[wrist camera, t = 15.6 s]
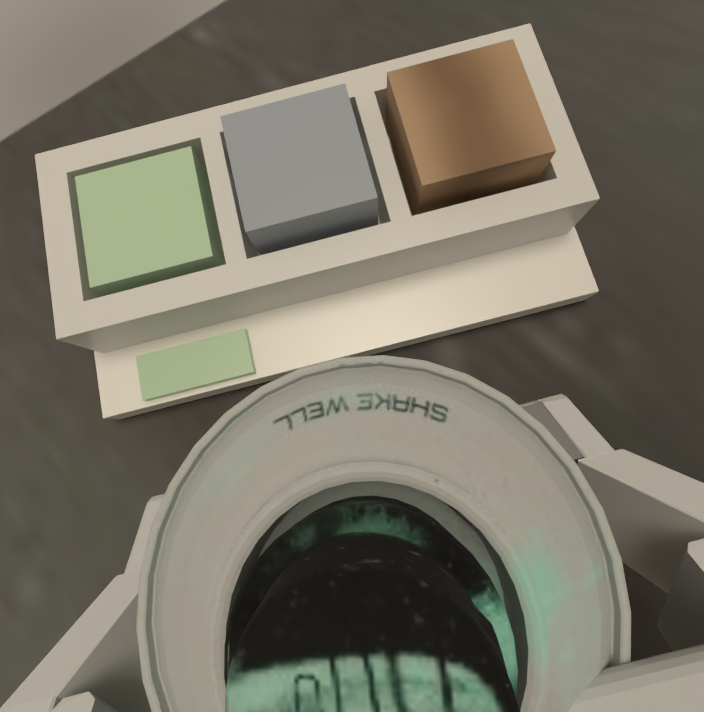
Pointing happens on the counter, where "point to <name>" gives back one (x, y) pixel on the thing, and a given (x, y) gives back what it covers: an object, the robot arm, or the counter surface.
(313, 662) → the spray can
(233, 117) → the key grey
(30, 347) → the counter surface
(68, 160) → the keypad
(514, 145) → the key walnut
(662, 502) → the robot arm
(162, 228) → the key green
